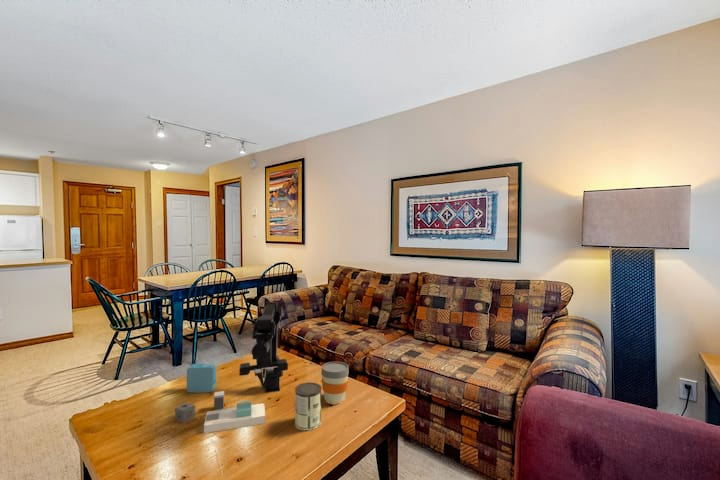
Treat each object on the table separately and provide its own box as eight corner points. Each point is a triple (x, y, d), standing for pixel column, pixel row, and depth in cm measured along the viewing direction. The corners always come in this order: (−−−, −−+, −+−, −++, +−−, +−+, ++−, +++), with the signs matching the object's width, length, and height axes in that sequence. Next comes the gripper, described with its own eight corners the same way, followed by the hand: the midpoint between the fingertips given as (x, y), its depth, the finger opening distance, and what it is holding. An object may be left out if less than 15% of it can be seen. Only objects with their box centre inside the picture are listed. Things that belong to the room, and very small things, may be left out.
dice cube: (186, 414, 136) (186, 402, 135) (194, 417, 133) (194, 405, 133) (175, 420, 131) (175, 407, 131) (183, 423, 129) (183, 410, 129)
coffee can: (302, 414, 137) (303, 380, 137) (325, 419, 134) (325, 384, 133) (289, 427, 127) (290, 391, 127) (313, 433, 124) (314, 396, 124)
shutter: (250, 406, 136) (251, 400, 136) (251, 415, 129) (251, 409, 129) (236, 408, 134) (236, 402, 134) (236, 418, 128) (236, 411, 128)
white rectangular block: (224, 405, 142) (224, 391, 142) (223, 410, 139) (223, 395, 139) (214, 407, 141) (214, 392, 141) (213, 411, 137) (213, 396, 137)
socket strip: (263, 410, 139) (263, 402, 139) (265, 423, 130) (265, 414, 130) (206, 419, 132) (207, 410, 132) (204, 433, 123) (204, 424, 122)
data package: (216, 388, 158) (216, 363, 158) (212, 392, 154) (212, 367, 154) (190, 388, 158) (191, 363, 158) (186, 392, 153) (186, 367, 153)
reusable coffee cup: (315, 403, 146) (316, 369, 146) (328, 390, 158) (329, 359, 157) (341, 409, 141) (341, 374, 141) (352, 396, 153) (353, 364, 153)
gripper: (285, 341, 145) (284, 376, 145) (240, 345, 138) (239, 382, 139) (288, 349, 134) (287, 387, 134) (239, 354, 128) (239, 394, 128)
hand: (263, 387), depth 134 cm, fingers closed
